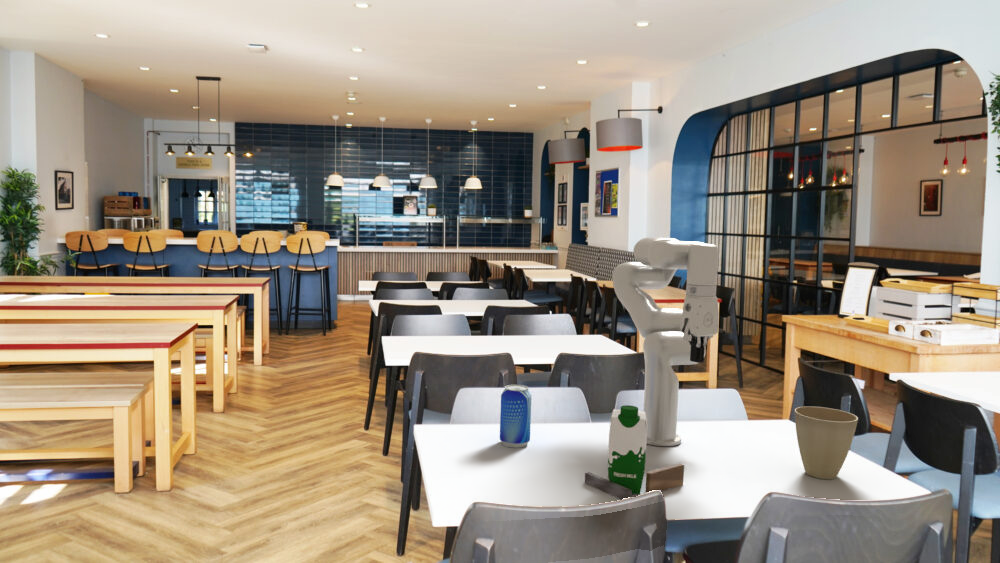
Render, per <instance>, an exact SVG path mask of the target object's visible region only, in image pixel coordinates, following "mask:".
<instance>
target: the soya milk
mask: <svg viewBox="0 0 1000 563" xmlns="http://www.w3.org/2000/svg"><path fill="white" fill-rule="evenodd" d="M609 424H610V425H609V434H608V448H607V449H608V451H607V452H608V453H607V454H608V455H607V473H608V475H607V477H608V476H609V478H608V480H609V481H611V482H614V483H616V484H618V485H621V486H623V487H625V488H628V489H630V490H632V494H633V495H641V492H642V486H643V481H644V477H645V471H646V456H647V444H646V442H647V430H646V425H647V419H646V414H645V411H642V410H639V408H638V406H634V405H628V404H627V405H626V404H625V405H622V406H620V409H618V408H613V410H612V412H611V417H610V422H609Z"/></svg>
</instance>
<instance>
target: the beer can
mask: <svg viewBox="0 0 1000 563" xmlns="http://www.w3.org/2000/svg"><path fill="white" fill-rule="evenodd" d="M499 416H500V418H499V440H500V442H501V444H502V445H503V446H505V447H508V448H524V447H526V446H527V445H528V443H529V442H530V441H531V420H532V419H531V418H532V417H531V416H532V394H531V392H530V389H529V386H527V385H523V384H509V385H505V386H504V390H503V391H502V392H501V395H500V415H499Z"/></svg>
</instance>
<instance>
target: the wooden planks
mask: <svg viewBox="0 0 1000 563" xmlns="http://www.w3.org/2000/svg"><path fill="white" fill-rule="evenodd" d="M684 473H685V464H683V463H676V464H673V465H669V466H665V467H662V468H659V469H654V470H650V471H647V472H646V475H645V477H646V478H645V492H649V491H652V490H661V492H663V491H667V490H671V489H675V488H677V487H680V486H683V485H684ZM584 484H586V485H588V486H591V487H593V488H595V489H598V490H600V491H601V492H604V493H605V494H608V495H611V496H613V497H615V498H618V499H620V500H622V499H623V498H628V497H631V498H632V490H630V489H628V488H625V487H623V486H621V485H618V484H616V483H614V482H611V481H609V476H608V475H607V479H606V478H603V477H602V476H599V475H597V474H594V473H592V472H590V471H587V472H584Z"/></svg>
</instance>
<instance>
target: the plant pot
mask: <svg viewBox="0 0 1000 563" xmlns="http://www.w3.org/2000/svg"><path fill="white" fill-rule="evenodd" d="M794 419H795V420H794V421H795V430H796V439H797V444H798V449H799V453H800V454H799V455H800V458H801V461H802V465H803V468H804V472H805V474H807V475H808V476H810V477H813V478H816V479H820V480H821V479H822V480H834V479H837V477H838V475H839V473H840V471H841V469H842V468H843V465H844V463H845V461H846V459H847V456H848V455H849V451H850V449H851V446H852V443H853V440H854V438H855V432H856V429H857V425H858V422H859V417H858V416H857V415H855V414H854V413H851V412H848V411H846V410H845V411H844V410H841V409H838V408H836V409H835V408H830V407H823V406H799V407H796V408H794Z"/></svg>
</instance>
